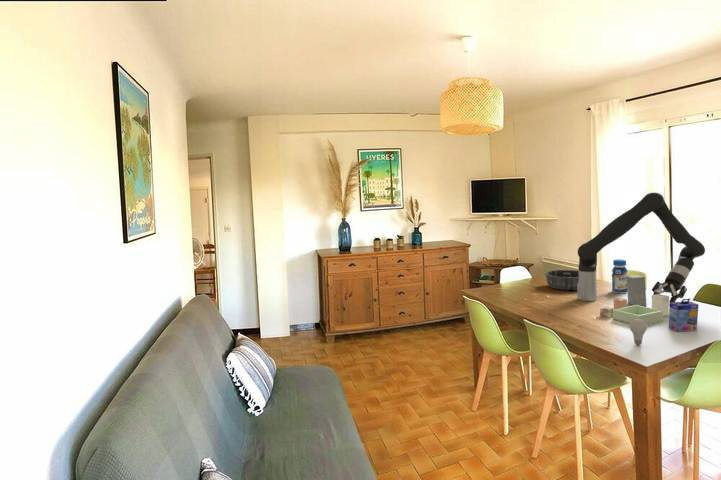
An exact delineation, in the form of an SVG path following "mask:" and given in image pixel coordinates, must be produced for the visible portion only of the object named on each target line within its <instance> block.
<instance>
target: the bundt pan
mask: <svg viewBox="0 0 721 480" xmlns="http://www.w3.org/2000/svg"><path fill="white" fill-rule="evenodd" d="M544 274H545V277H546V283H547V285H548V286H550V287H551V288H553V289H555V290H561V291H565V290H566V291H569V290H571V291H577V283H579V270H575V269H554V270H547V271H545V273H544Z"/></svg>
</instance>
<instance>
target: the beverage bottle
mask: <svg viewBox="0 0 721 480" xmlns="http://www.w3.org/2000/svg"><path fill="white" fill-rule="evenodd" d="M612 263H613V264H612V265H613V267H612V270H611V272H612V273H611V287H612V288H611V292H612V293H613V294H614V293H615V294H626V293H627V278H626V276H629V275H628V269H627V267H626V266H627V260H626V259H620V258H619V259H614V260H612Z"/></svg>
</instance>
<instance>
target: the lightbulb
mask: <svg viewBox="0 0 721 480" xmlns="http://www.w3.org/2000/svg"><path fill="white" fill-rule="evenodd" d="M628 325H629V330H630V331H631V333H632V335H633V340H634V341H633V343H634V344H635V345H636V346H641V345H642V344H643V338H644V335H645V333H646V332H647V331H648V330H647V329H648V324H647V325H646V323H645V322H644V321H643V320H641V319H634V320H632V321H631V322H630V324H628Z"/></svg>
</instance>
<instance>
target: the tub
mask: <svg viewBox="0 0 721 480" xmlns="http://www.w3.org/2000/svg"><path fill="white" fill-rule="evenodd" d="M634 319H641V320H643V321H644V322H645V323H646V325H647V326H648V325H651V324H655V323H660V322H663V321H664V317H663V311H661V310H657V309H652V307H647V306H639V305H630V306H627V307H624V308H619V309H614V308H613V317H612V320H613V321H614V320H615V321H618V322H621V323H625V324H628V325H629V324H630V322H631V321H632V320H634Z"/></svg>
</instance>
